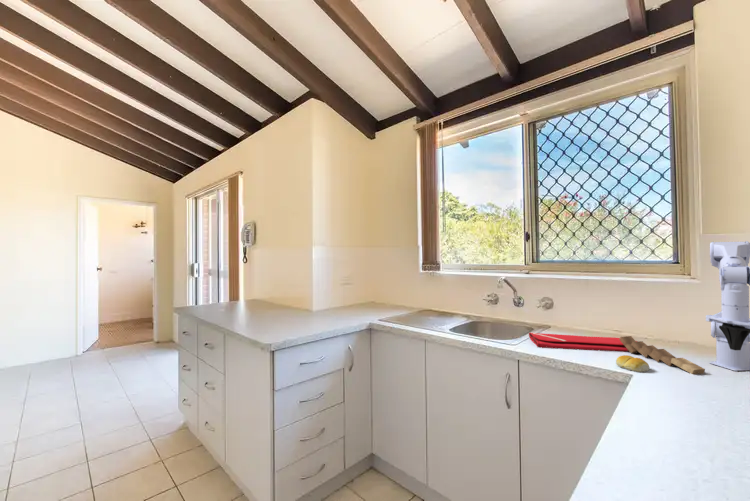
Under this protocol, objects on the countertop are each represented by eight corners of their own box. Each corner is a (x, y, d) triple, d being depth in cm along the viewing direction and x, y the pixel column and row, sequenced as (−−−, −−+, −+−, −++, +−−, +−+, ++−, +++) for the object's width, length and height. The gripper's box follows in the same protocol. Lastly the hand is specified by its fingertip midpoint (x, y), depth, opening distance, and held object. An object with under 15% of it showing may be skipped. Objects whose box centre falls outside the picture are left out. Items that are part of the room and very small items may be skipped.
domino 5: (703, 373, 107) (681, 361, 114) (705, 369, 107) (682, 357, 113) (692, 374, 106) (670, 362, 113) (693, 369, 106) (671, 358, 113)
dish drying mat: (650, 354, 128) (650, 345, 128) (538, 349, 136) (537, 340, 136) (628, 343, 143) (628, 334, 143) (528, 339, 152) (528, 331, 152)
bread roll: (627, 362, 118) (627, 351, 118) (654, 371, 110) (654, 359, 110) (609, 364, 116) (609, 353, 116) (634, 373, 108) (634, 361, 108)
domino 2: (656, 357, 123) (640, 344, 129) (658, 354, 122) (642, 341, 128) (645, 358, 122) (630, 344, 129) (647, 354, 122) (632, 341, 128)
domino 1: (642, 352, 128) (629, 338, 133) (644, 350, 127) (631, 336, 132) (631, 353, 127) (619, 339, 133) (633, 351, 126) (620, 336, 132)
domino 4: (680, 365, 114) (661, 352, 121) (682, 362, 114) (663, 348, 120) (669, 366, 114) (651, 352, 120) (671, 362, 113) (653, 349, 119)
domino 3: (668, 361, 118) (651, 348, 125) (670, 358, 118) (652, 345, 124) (657, 362, 118) (641, 349, 124) (659, 358, 117) (642, 345, 124)
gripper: (697, 302, 107) (697, 343, 107) (754, 310, 92) (754, 357, 92) (716, 301, 108) (716, 342, 108) (775, 309, 93) (775, 356, 93)
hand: (735, 349), depth 100 cm, fingers closed
